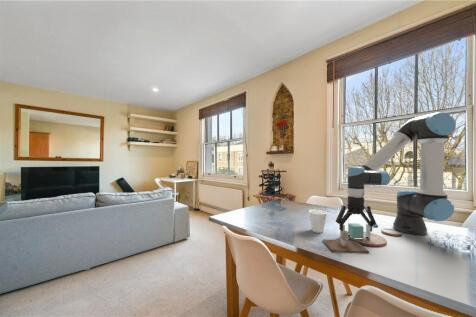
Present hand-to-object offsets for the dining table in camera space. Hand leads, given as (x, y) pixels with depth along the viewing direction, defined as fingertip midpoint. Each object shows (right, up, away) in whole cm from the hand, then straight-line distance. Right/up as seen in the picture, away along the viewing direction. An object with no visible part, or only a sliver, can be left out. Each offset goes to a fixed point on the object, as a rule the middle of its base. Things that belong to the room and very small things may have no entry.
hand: (355, 237), depth 106 cm
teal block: (0, 0, 0) cm, 0 cm away
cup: (-16, 0, +9) cm, 19 cm away
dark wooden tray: (-12, 0, -11) cm, 16 cm away
